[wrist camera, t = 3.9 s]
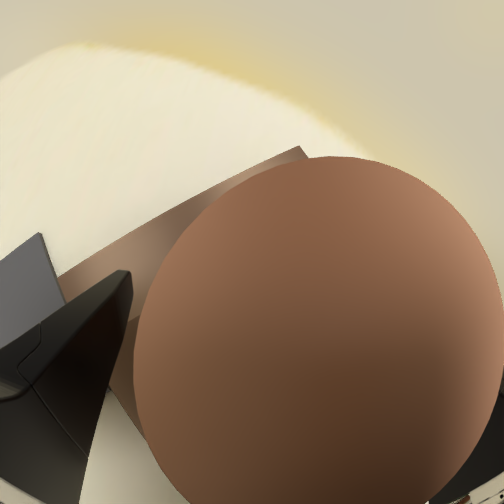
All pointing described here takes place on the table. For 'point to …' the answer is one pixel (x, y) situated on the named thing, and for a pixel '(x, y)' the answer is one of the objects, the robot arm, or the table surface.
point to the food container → (465, 500)
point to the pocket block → (149, 267)
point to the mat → (27, 289)
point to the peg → (320, 341)
